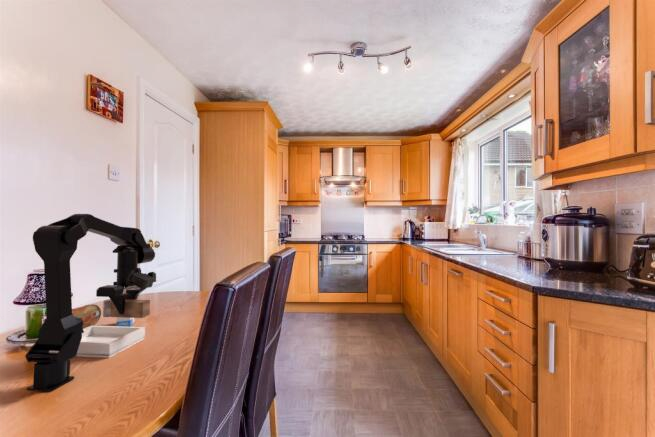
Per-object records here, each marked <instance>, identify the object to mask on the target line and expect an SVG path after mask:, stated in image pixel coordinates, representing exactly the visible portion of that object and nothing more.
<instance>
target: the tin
mask: <svg viewBox="0 0 655 437" xmlns="http://www.w3.org/2000/svg"><path fill="white" fill-rule="evenodd" d="M72 314H73V315H74V317H75V318H82V319H83V329H84V328H87V327H89V326H92V325H93V326H96V324H97V323H98V322H99V320H100V319H101V316H102V310H101V307H100V306H98V305H97V304H87V305H82V306H79V307H74V308H72Z"/></svg>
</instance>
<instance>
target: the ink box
mask: <svg viewBox="0 0 655 437" xmlns="http://www.w3.org/2000/svg"><path fill="white" fill-rule="evenodd" d="M135 319H136V318H124V317H116V326H123V327H132V325H133V324H134V323H135Z"/></svg>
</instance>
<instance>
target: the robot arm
mask: <svg viewBox="0 0 655 437" xmlns="http://www.w3.org/2000/svg"><path fill="white" fill-rule="evenodd" d="M88 232H89V233H93V234H95V235H99V236H102V237H105V238H108V239H110V242H112V243H113V244H116V245H117V246H116V247H115V248H114V249H113V250H112V253H113V254H117V258H116V259H117V260H116V261H117V262H116V265H117V266H116V268H114V269H113V273H116V281H113V282H112V283H113V284H107V285H104V286H99V287H98V288H96V291H95V292H96V293H95V294H96V295H95V296H96V297H98V298H99V297H102V298H103V297H104V298H105V297H106V298H109V299H111V301H112V302H113V304H114V305H115V307H116V309H117V310H118V312H119V314H120V315H122V314H124V309H125V300H126V299H131V300H138V298H139V295H140V294H141V293H143V292H144V291H145V290H146V289H149V288H152V287H153V286H154V283H156V282H157V273H156V272H154V271H151V272H150V271H148V273H143V272H142V269H141V267H138V265H141V264H147V263H150V262H152V261H153V260H155V257H156V252H155V249H154V248H152V247H151V244H150V243H147V241H146V239H145V237H144V235H143V233H142V231H141V229H139V228H138V227H129V226H120V225H117V224H114V223H112V222H109V221H106V220H104V219H101V218H99V217H96V216H94V215H92V214H90V213H74V214H72V215H69V216H68V217H66V218H63V219H61V220H60V219H59V220H57V221H55V222H51V223H49V224H47V225H42V226H40V227H38V228H37V229H36V230H35V231H33V234H32V242H33V246H34V251H35V253H36V254H37V255H38V256H39V258H40V259H41V260H42V261H43V269H44V270H43V271H44V288H45V292H44V294H45V295H44V296H45V314H46V316H45V320H44V321H43V323H42V324H41V326H40V327H39V330H38V336H37V339H36V341H35V342H34V344H33V345H32V346H31V347H30V349H29V350H28V351H27V352H26V353H25V356H24V357H25V359H26V362H27V363H33V376H32V377H33V381H32V382H33V383H32V384H31V385H30V386H28V387H26V391H38V392H39V391H40V392H42V391H43V392H52V391H54V390H56V389H58V388H59V387H62V386H63V385H65V384H67V383H69V382H71V381H72V380H74V379H75V376H74V375H71V359H73V358H75V357H77V356H76V354H77V351H78V348H79V345H80V342H81V339H82V333H84V331H83V319H82V318H75V317H74V315H73V314H72V309H73V305H72V304H73V301H72V299H73V298H72V277H71V275H72V274H71V258H72V257H73V256H74V254H75V253H76V251H77V249H78V241H80V240H81V239H82V238H84V237H85V236H87V233H88ZM49 351H59V352H58V353H50V352H49Z"/></svg>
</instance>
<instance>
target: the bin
mask: <svg viewBox="0 0 655 437" xmlns="http://www.w3.org/2000/svg"><path fill="white" fill-rule="evenodd" d="M83 331H84V333H82V339H81V342H80V345H79V348H78V351H77V354H76V356H75V357H83V358H106V359H107V358H108V359H109V358H112V357H113V356H115V355H118V354H119V353H121V352H123V351H125V350H126V349H128V348H130V347H132V346H134V345H135V344H138V343H139V342H142V341H143V340H145V339H146V327H145V326H131V327H123V326H117V325H113V326H112V325H92V326H89V327H87V328H84V329H83ZM49 352H50V353H58V352H59V351H49Z"/></svg>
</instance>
